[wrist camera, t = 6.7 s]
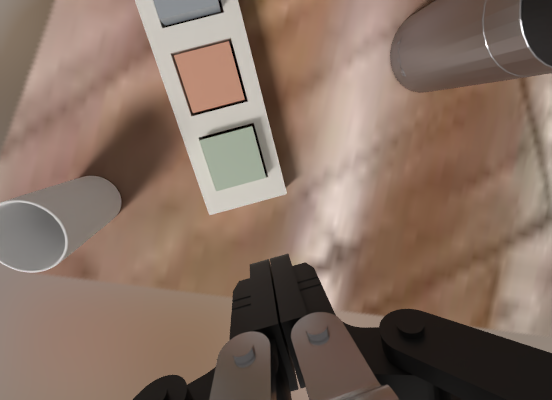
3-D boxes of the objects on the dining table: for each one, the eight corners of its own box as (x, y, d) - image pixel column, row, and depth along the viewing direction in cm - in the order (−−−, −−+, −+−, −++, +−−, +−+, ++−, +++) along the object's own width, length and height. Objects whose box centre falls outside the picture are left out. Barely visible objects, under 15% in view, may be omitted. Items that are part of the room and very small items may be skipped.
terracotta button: (229, 45, 32) (228, 41, 30) (244, 100, 34) (244, 99, 32) (178, 59, 32) (173, 55, 30) (195, 113, 34) (192, 113, 32)
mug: (106, 164, 35) (37, 187, 23) (134, 212, 37) (83, 255, 25) (31, 195, 35) (-75, 233, 23) (62, 241, 37) (-20, 297, 25)
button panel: (214, -85, 29) (212, -103, 27) (284, 189, 38) (286, 193, 35) (119, -61, 29) (108, -77, 26) (211, 209, 38) (209, 215, 35)
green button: (251, 125, 33) (252, 126, 31) (265, 174, 35) (266, 177, 33) (202, 139, 33) (199, 140, 31) (218, 187, 35) (216, 191, 33)
